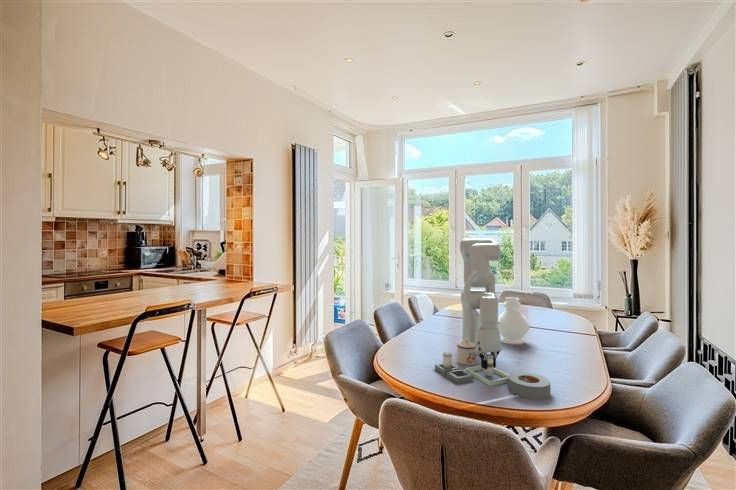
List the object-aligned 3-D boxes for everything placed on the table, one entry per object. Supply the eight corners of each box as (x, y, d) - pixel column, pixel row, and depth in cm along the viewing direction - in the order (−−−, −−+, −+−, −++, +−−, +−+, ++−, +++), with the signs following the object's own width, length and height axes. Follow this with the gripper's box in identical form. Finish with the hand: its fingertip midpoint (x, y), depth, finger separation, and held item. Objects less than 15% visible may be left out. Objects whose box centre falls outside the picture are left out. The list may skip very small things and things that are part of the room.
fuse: (448, 369, 162) (448, 351, 162) (453, 372, 159) (453, 354, 158) (440, 370, 161) (440, 352, 161) (445, 373, 157) (446, 355, 157)
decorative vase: (513, 335, 219) (513, 294, 218) (536, 343, 202) (536, 299, 201) (489, 338, 212) (489, 296, 212) (511, 347, 196) (511, 301, 195)
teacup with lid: (468, 368, 166) (469, 342, 165) (452, 362, 173) (452, 338, 172) (483, 362, 173) (483, 338, 173) (467, 357, 180) (467, 334, 180)
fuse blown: (489, 371, 156) (489, 353, 156) (495, 374, 153) (495, 355, 152) (481, 372, 155) (481, 354, 155) (488, 376, 151) (488, 357, 151)
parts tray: (487, 369, 163) (487, 364, 163) (513, 383, 149) (513, 377, 149) (465, 373, 159) (465, 367, 159) (490, 387, 144) (490, 381, 144)
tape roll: (518, 380, 152) (518, 368, 152) (556, 391, 141) (556, 378, 141) (500, 391, 141) (500, 378, 141) (540, 404, 130) (541, 390, 130)
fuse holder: (432, 371, 162) (432, 364, 162) (450, 368, 166) (450, 361, 166) (455, 386, 145) (455, 379, 145) (476, 382, 149) (476, 375, 149)
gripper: (498, 321, 160) (497, 362, 160) (466, 324, 154) (466, 367, 154) (510, 325, 153) (510, 367, 153) (478, 329, 147) (478, 373, 147)
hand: (488, 367), depth 154 cm, fingers closed on fuse blown, 3 cm apart
